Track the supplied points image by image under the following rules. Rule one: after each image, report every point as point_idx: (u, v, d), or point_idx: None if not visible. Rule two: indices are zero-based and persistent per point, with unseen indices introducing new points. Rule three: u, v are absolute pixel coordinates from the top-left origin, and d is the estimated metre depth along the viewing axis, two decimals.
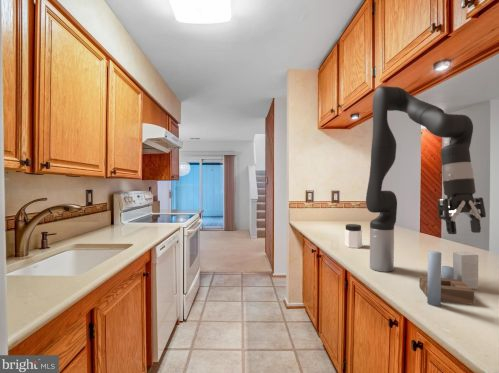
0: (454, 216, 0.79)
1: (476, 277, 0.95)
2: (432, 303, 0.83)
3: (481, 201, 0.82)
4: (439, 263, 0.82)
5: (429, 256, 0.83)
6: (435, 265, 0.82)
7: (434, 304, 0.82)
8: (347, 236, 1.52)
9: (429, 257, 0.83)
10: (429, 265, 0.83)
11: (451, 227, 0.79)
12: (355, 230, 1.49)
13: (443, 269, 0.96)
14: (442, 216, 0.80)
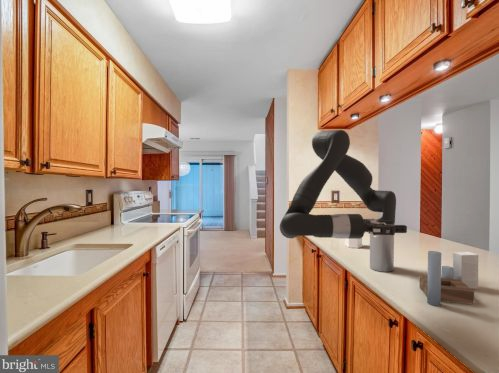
0: None
1: (476, 277, 0.95)
2: (432, 303, 0.83)
3: None
4: (439, 263, 0.82)
5: (429, 256, 0.83)
6: (435, 265, 0.82)
7: (434, 304, 0.82)
8: None
9: (429, 257, 0.83)
10: (429, 265, 0.83)
11: None
12: None
13: (443, 269, 0.96)
14: None
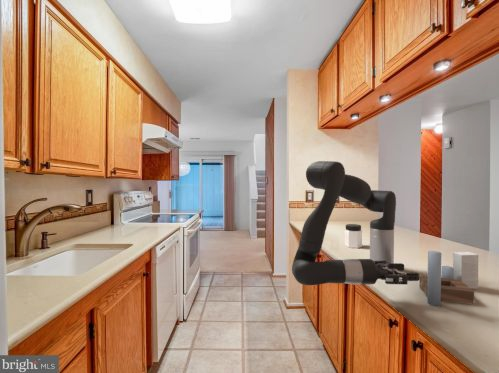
0: None
1: (476, 277, 0.95)
2: (432, 303, 0.83)
3: None
4: (439, 263, 0.82)
5: (429, 256, 0.83)
6: (435, 265, 0.82)
7: (434, 304, 0.82)
8: (347, 236, 1.52)
9: (429, 257, 0.83)
10: (429, 265, 0.83)
11: None
12: (355, 230, 1.49)
13: (443, 269, 0.96)
14: None
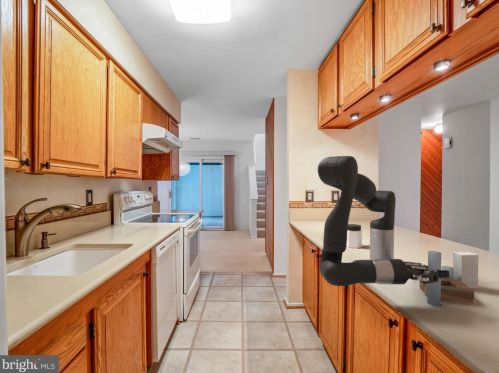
0: None
1: (476, 277, 0.95)
2: (432, 303, 0.83)
3: None
4: (439, 263, 0.82)
5: (429, 256, 0.83)
6: (435, 265, 0.82)
7: (434, 304, 0.82)
8: (347, 236, 1.52)
9: (429, 257, 0.83)
10: (429, 265, 0.83)
11: None
12: (355, 230, 1.49)
13: (443, 269, 0.96)
14: None
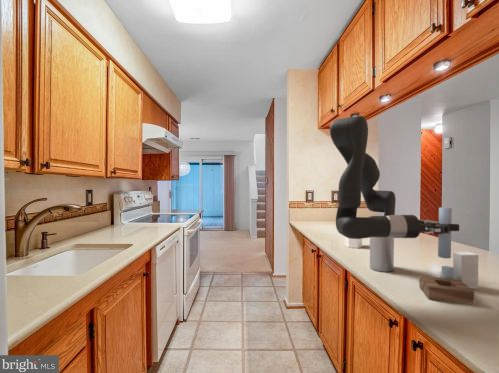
0: None
1: (476, 277, 0.95)
2: (443, 255, 0.88)
3: None
4: (449, 217, 0.87)
5: (440, 211, 0.88)
6: (446, 220, 0.87)
7: (445, 256, 0.88)
8: None
9: (440, 212, 0.88)
10: (440, 220, 0.88)
11: None
12: None
13: (443, 269, 0.96)
14: None
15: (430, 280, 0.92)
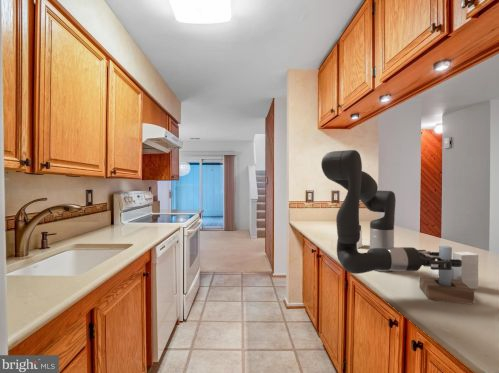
0: None
1: (476, 277, 0.95)
2: None
3: None
4: (450, 257, 0.88)
5: (440, 250, 0.89)
6: None
7: None
8: None
9: (440, 251, 0.89)
10: None
11: None
12: None
13: None
14: None
15: (430, 280, 0.92)
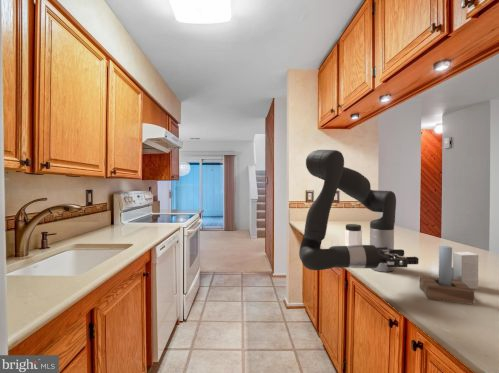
0: None
1: (476, 277, 0.95)
2: None
3: None
4: (450, 257, 0.88)
5: (440, 251, 0.89)
6: (446, 259, 0.88)
7: None
8: (347, 236, 1.52)
9: (440, 251, 0.89)
10: (440, 259, 0.89)
11: None
12: (355, 230, 1.49)
13: None
14: None
15: (430, 280, 0.92)
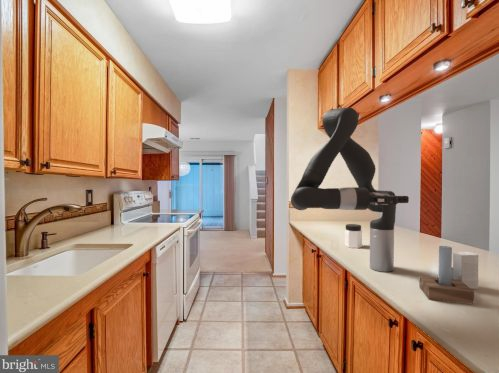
0: None
1: (476, 277, 0.95)
2: None
3: (381, 203, 0.85)
4: (450, 257, 0.88)
5: (440, 250, 0.89)
6: (446, 259, 0.88)
7: None
8: (347, 236, 1.52)
9: (440, 251, 0.89)
10: (440, 259, 0.89)
11: None
12: (355, 230, 1.49)
13: None
14: None
15: (430, 280, 0.92)
